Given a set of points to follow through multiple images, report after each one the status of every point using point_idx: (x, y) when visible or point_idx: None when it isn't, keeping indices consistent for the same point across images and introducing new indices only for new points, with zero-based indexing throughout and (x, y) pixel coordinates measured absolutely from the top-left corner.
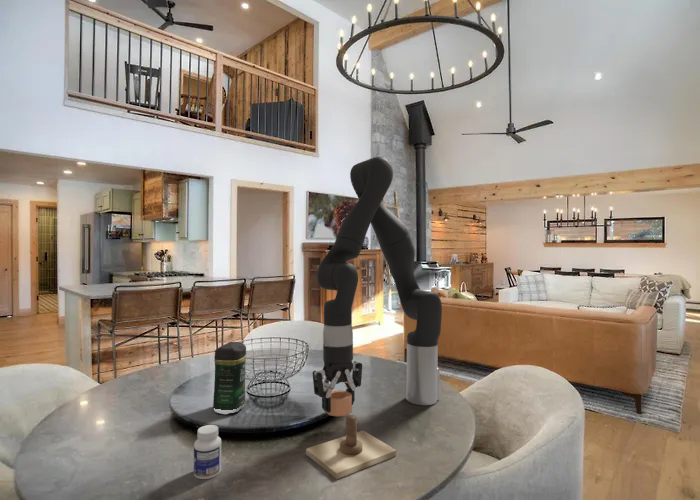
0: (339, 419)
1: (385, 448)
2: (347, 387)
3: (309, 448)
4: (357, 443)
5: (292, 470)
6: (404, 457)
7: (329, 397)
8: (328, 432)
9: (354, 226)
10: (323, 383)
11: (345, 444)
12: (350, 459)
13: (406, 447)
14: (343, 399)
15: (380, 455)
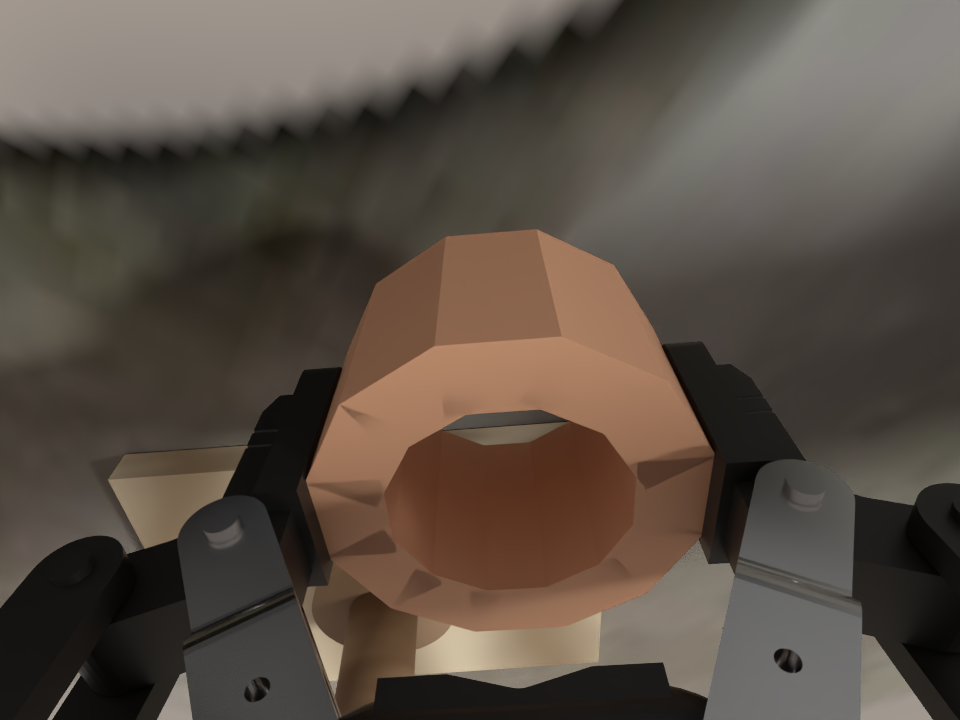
0: (646, 57)
1: (564, 635)
2: (747, 509)
3: (132, 487)
4: (424, 618)
5: (18, 547)
6: (615, 653)
7: (316, 574)
8: (396, 262)
9: None
10: (189, 662)
11: (348, 604)
12: (333, 641)
13: (701, 606)
14: (480, 628)
15: (494, 665)
